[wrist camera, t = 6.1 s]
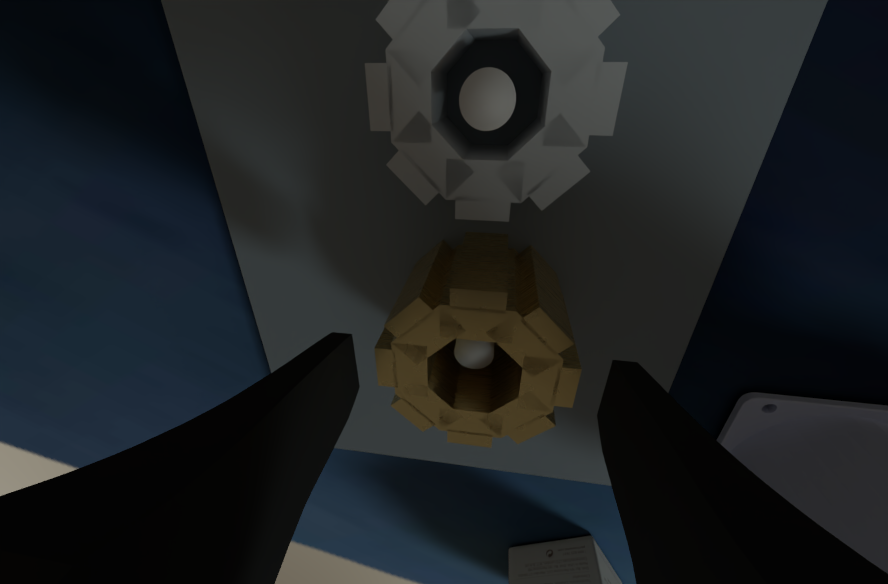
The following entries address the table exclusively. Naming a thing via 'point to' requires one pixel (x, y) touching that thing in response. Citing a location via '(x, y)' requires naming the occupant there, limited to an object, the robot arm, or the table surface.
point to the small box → (561, 563)
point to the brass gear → (482, 319)
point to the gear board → (487, 171)
